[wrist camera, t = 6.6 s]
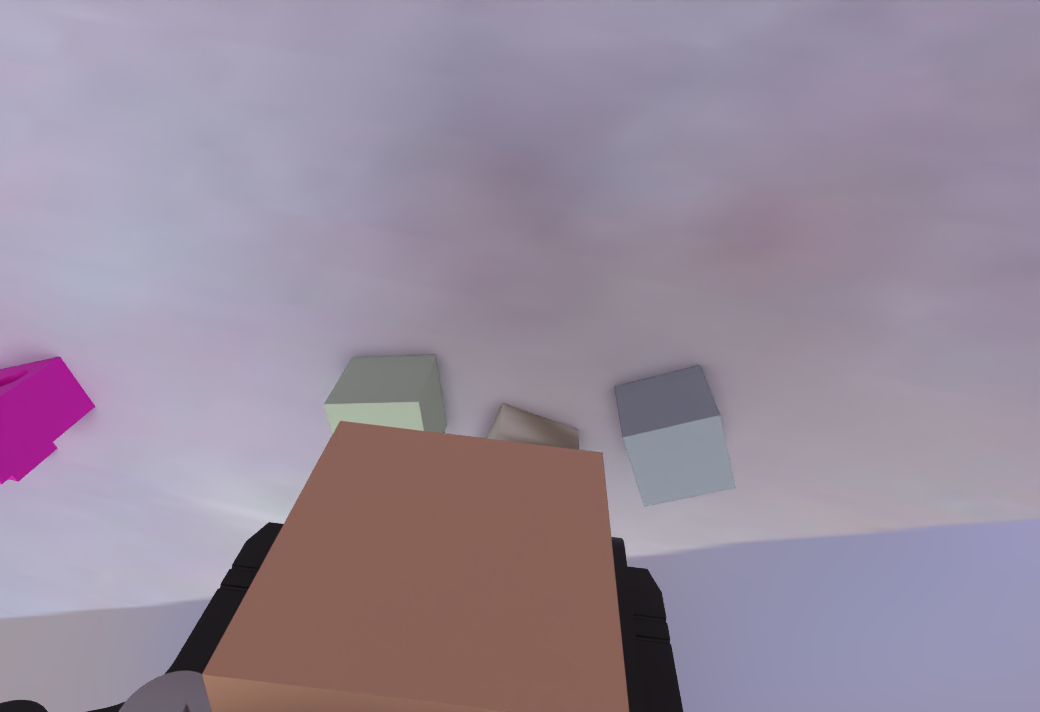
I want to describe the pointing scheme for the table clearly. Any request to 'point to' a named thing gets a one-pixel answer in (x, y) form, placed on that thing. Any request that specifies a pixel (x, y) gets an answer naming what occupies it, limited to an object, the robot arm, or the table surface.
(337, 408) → the cube sage
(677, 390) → the cube slate
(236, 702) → the cube terracotta
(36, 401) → the toy block
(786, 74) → the table surface
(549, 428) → the cube cream
